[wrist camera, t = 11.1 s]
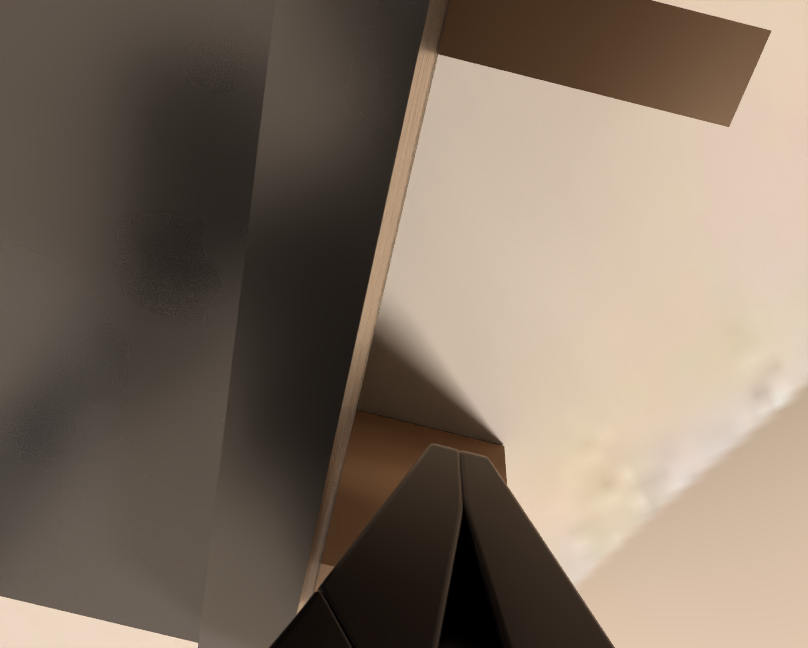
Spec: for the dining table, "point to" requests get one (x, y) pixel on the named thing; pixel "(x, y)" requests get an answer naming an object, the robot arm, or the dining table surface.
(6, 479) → the lid
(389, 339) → the dining table surface
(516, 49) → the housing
